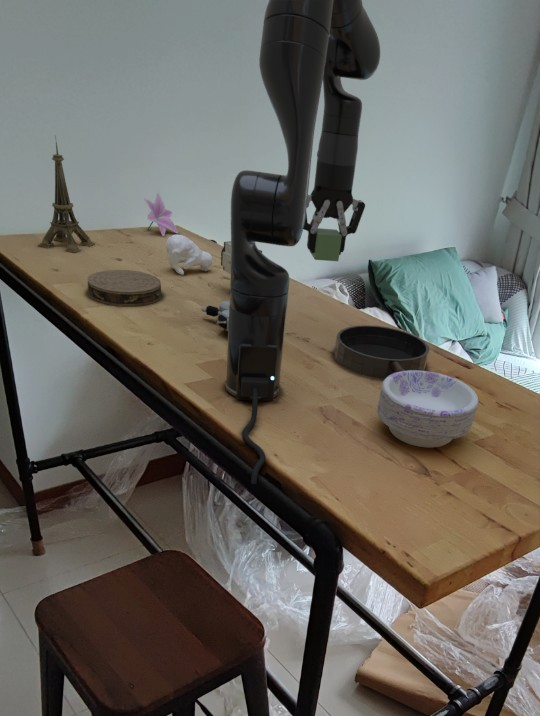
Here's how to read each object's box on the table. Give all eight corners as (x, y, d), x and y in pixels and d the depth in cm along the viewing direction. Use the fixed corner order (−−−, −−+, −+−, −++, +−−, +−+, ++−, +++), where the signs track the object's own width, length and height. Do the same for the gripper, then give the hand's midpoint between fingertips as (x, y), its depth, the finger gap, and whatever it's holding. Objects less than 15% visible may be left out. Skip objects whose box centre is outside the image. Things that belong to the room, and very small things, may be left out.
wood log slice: (110, 310, 136) (109, 295, 134) (75, 287, 145) (74, 274, 143) (174, 300, 145) (174, 286, 143) (138, 280, 154) (137, 267, 152)
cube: (338, 261, 134) (341, 235, 131) (314, 259, 133) (317, 233, 130) (333, 254, 137) (336, 229, 134) (310, 253, 137) (313, 227, 134)
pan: (436, 382, 123) (441, 362, 121) (344, 378, 120) (348, 358, 118) (409, 346, 137) (413, 327, 135) (326, 342, 134) (328, 323, 132)
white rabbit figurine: (164, 231, 158) (209, 235, 164) (161, 267, 163) (206, 270, 169) (172, 237, 154) (219, 242, 160) (169, 274, 159) (215, 277, 165)
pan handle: (412, 390, 114) (414, 380, 113) (401, 390, 113) (403, 379, 112) (398, 370, 121) (400, 359, 120) (387, 369, 120) (390, 359, 119)
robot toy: (197, 321, 138) (225, 342, 127) (197, 300, 136) (226, 319, 125) (249, 317, 143) (280, 337, 133) (250, 296, 141) (282, 314, 130)
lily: (141, 240, 187) (155, 211, 181) (126, 214, 191) (140, 185, 185) (175, 251, 195) (189, 223, 190) (160, 225, 199) (174, 198, 194)
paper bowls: (404, 463, 97) (415, 415, 92) (357, 417, 108) (365, 372, 103) (485, 451, 103) (499, 406, 98) (433, 409, 113) (444, 366, 109)
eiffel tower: (94, 244, 175) (86, 136, 160) (75, 252, 167) (64, 140, 151) (58, 238, 176) (47, 130, 161) (38, 246, 168) (23, 134, 153)
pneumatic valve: (235, 286, 158) (238, 234, 151) (262, 301, 151) (266, 247, 143) (216, 288, 155) (217, 235, 148) (242, 304, 148) (245, 248, 141)
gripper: (303, 159, 120) (294, 255, 130) (377, 166, 123) (362, 260, 133) (297, 153, 126) (288, 246, 136) (367, 160, 128) (354, 250, 139)
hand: (325, 252), depth 135 cm, fingers closed on cube, 5 cm apart
